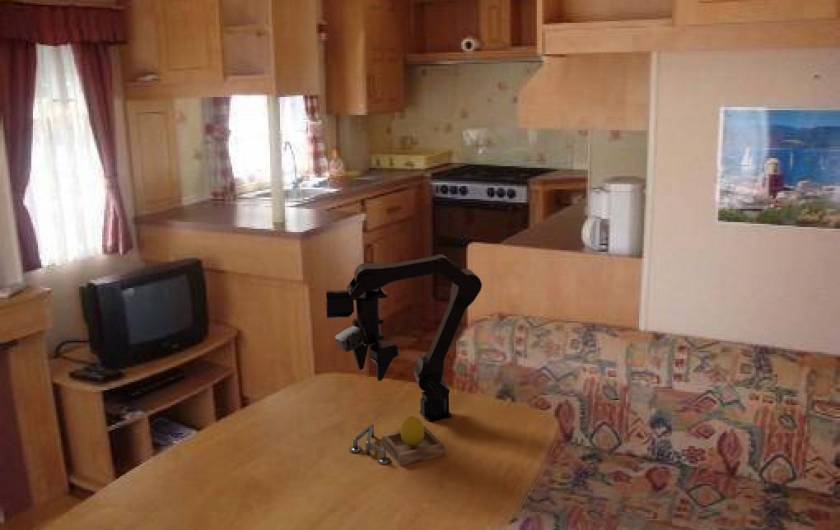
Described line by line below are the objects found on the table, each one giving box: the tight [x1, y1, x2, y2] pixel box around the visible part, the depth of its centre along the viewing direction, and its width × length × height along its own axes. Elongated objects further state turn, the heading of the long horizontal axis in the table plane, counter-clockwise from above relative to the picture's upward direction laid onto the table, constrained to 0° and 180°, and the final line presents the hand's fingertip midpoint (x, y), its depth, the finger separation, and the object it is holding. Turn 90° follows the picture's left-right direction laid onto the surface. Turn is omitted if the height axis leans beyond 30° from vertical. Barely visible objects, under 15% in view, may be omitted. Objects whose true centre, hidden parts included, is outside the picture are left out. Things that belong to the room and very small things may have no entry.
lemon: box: [400, 415, 425, 448], centre depth 183 cm, size 6×6×8 cm
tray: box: [381, 425, 445, 466], centre depth 183 cm, size 11×11×3 cm
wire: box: [348, 423, 392, 465], centre depth 183 cm, size 8×15×3 cm, turn 24°
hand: (370, 374), depth 196 cm, fingers open, 9 cm apart
